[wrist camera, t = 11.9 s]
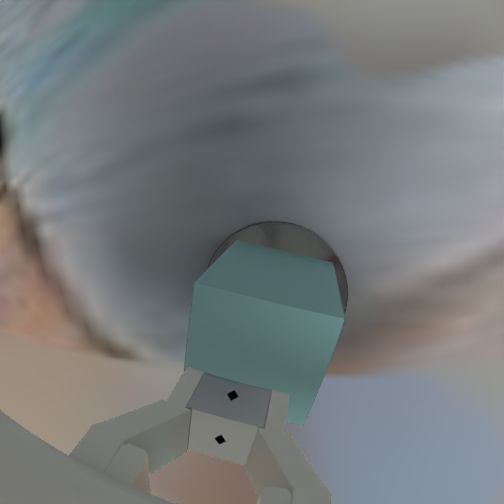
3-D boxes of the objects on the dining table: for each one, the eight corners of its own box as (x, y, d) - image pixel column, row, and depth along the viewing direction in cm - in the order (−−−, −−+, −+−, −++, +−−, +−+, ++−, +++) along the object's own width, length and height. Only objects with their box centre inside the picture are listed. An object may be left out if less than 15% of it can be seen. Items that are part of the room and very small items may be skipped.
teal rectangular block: (221, 324, 19) (181, 394, 12) (236, 240, 17) (194, 282, 11) (308, 346, 18) (303, 425, 12) (332, 262, 17) (344, 318, 10)
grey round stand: (199, 333, 20) (164, 386, 14) (218, 207, 18) (179, 226, 12) (324, 364, 19) (325, 427, 14) (363, 240, 17) (386, 274, 11)
